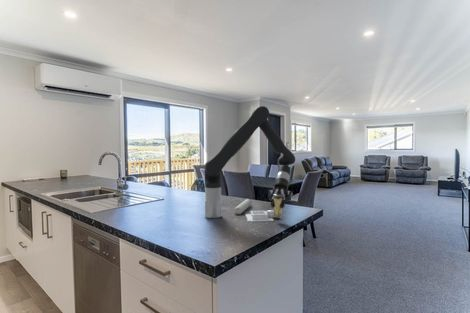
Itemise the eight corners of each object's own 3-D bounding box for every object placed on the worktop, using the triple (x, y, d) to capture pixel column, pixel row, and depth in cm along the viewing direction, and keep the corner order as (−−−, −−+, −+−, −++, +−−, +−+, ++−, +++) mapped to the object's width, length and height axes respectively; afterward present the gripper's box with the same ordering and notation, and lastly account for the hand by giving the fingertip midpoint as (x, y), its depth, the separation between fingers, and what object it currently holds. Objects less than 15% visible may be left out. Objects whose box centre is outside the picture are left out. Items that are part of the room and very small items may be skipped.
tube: (242, 209, 155) (252, 200, 179) (234, 205, 157) (245, 197, 180) (239, 217, 156) (250, 207, 180) (231, 213, 157) (243, 204, 181)
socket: (247, 221, 141) (247, 213, 141) (245, 215, 155) (245, 208, 155) (280, 221, 142) (280, 213, 142) (274, 214, 156) (274, 207, 156)
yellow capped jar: (273, 217, 136) (273, 195, 136) (271, 214, 142) (271, 193, 141) (284, 217, 136) (284, 195, 136) (281, 214, 142) (282, 193, 142)
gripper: (268, 176, 148) (262, 201, 137) (294, 177, 143) (290, 204, 132) (270, 184, 153) (265, 209, 142) (295, 186, 148) (291, 212, 137)
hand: (277, 207), depth 137 cm, fingers closed on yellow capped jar, 4 cm apart
